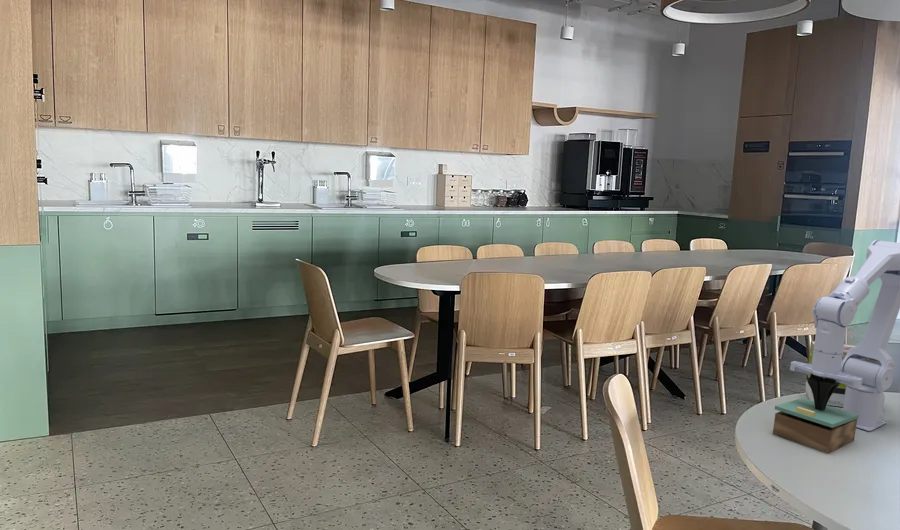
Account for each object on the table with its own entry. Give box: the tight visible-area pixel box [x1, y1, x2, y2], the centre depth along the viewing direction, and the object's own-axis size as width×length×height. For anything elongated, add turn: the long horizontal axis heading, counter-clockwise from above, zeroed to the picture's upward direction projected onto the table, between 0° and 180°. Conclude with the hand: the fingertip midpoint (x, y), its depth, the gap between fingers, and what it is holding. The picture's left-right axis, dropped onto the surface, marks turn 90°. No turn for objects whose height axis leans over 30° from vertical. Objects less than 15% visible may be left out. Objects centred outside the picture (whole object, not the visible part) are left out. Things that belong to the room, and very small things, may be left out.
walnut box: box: [772, 411, 857, 455], centre depth 153 cm, size 13×12×5 cm
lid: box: [774, 397, 859, 428], centre depth 152 cm, size 14×12×2 cm
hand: (819, 409), depth 153 cm, fingers closed, pressing on lid
